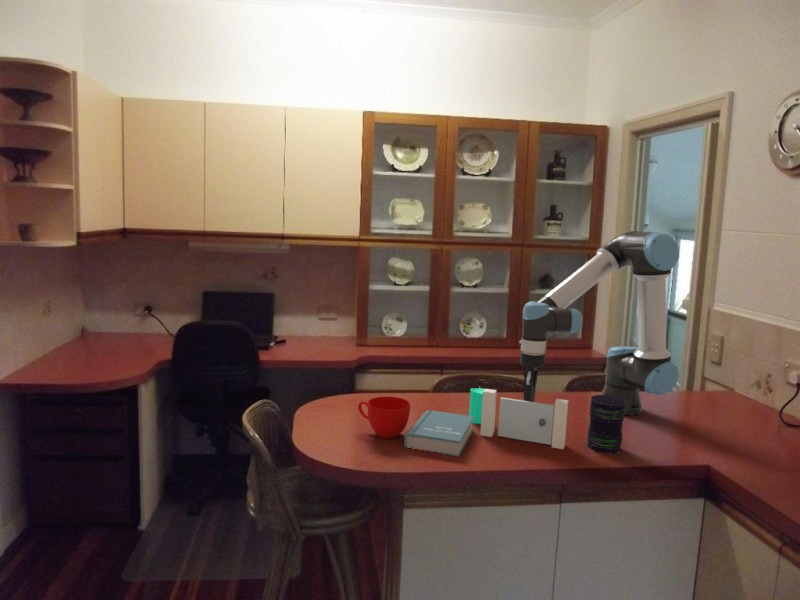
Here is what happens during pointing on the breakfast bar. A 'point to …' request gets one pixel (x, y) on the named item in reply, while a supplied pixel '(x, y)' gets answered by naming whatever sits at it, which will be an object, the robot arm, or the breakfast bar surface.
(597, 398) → the storage jar
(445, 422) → the book
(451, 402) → the breakfast bar surface
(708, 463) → the breakfast bar surface
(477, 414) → the candle
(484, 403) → the door frame
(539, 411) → the door
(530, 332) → the robot arm
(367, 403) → the ceramic cup
